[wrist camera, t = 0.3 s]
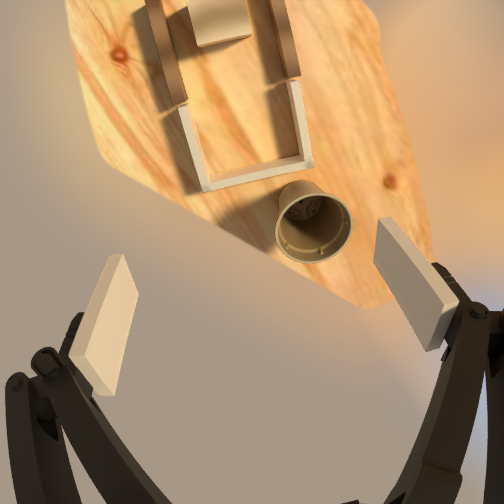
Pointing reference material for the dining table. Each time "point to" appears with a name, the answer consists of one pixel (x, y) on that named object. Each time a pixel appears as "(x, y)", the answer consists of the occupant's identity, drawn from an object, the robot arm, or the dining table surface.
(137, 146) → the dining table surface
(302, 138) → the corral
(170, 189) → the dining table surface
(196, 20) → the beige square block
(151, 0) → the slot rails
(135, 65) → the dining table surface
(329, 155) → the dining table surface
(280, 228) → the flower pot
